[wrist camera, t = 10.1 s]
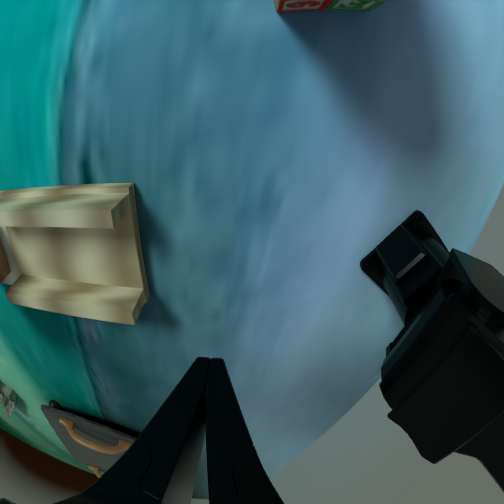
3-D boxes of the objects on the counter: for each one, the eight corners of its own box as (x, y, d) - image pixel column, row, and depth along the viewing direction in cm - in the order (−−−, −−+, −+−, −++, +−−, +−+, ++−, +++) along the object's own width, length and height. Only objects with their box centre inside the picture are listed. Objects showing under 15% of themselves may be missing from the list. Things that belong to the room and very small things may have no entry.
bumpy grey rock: (17, 405, 44) (10, 418, 40) (-9, 385, 41) (-16, 398, 38) (20, 393, 40) (12, 409, 36) (-9, 371, 37) (-17, 385, 34)
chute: (133, 182, 19) (109, 204, 16) (149, 296, 24) (135, 328, 21) (-37, 195, 19) (-61, 211, 16) (-12, 274, 24) (-30, 295, 21)
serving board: (39, 384, 36) (26, 412, 31) (167, 430, 39) (161, 464, 34) (79, 453, 55) (73, 472, 50) (160, 479, 58) (157, 499, 53)
